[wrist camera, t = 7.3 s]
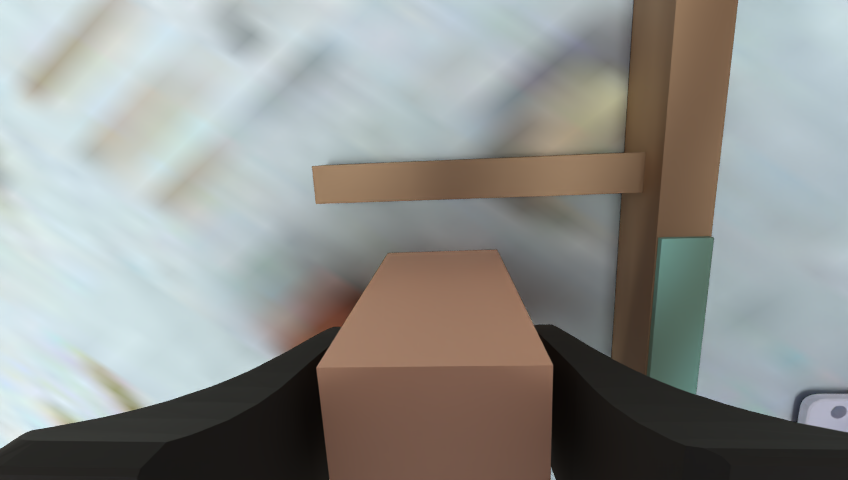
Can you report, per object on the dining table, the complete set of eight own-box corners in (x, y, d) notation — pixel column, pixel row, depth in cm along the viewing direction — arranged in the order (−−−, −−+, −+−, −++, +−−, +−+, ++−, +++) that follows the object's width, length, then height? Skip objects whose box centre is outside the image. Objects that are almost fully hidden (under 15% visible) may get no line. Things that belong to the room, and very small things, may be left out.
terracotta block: (496, 249, 14) (553, 365, 6) (498, 350, 15) (548, 560, 7) (387, 252, 15) (316, 367, 7) (394, 351, 15) (338, 554, 8)
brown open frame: (701, -197, 11) (779, -308, 8) (629, 622, 17) (661, 706, 15) (297, -155, 12) (253, -243, 9) (367, 611, 18) (353, 688, 16)
